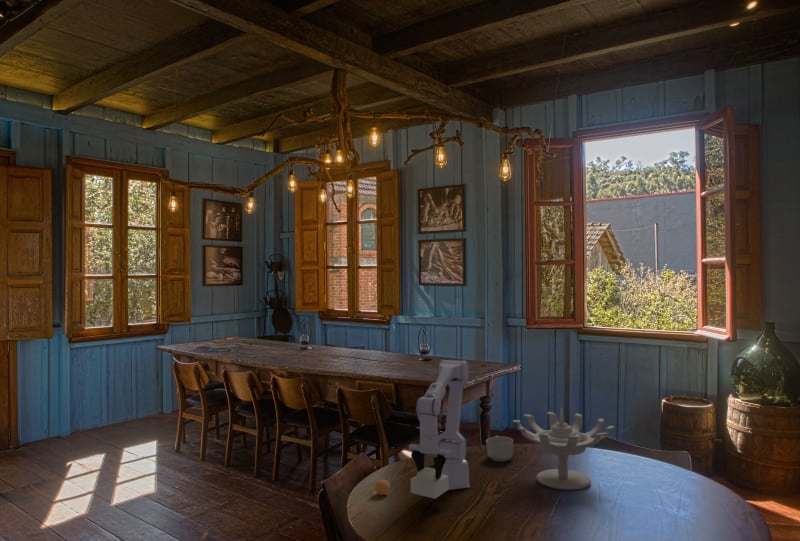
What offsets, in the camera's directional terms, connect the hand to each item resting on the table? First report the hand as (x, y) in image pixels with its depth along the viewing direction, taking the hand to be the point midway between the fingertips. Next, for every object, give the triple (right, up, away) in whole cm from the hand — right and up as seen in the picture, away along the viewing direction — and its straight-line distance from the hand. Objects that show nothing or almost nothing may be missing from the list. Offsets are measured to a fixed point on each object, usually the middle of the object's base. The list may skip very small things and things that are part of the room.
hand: (429, 476), depth 178 cm
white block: (0, -5, 0) cm, 5 cm away
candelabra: (+49, -9, +18) cm, 53 cm away
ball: (-16, -7, +10) cm, 20 cm away
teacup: (+31, -10, +46) cm, 57 cm away
